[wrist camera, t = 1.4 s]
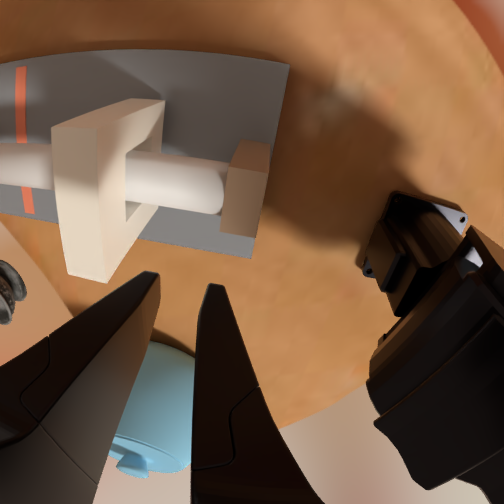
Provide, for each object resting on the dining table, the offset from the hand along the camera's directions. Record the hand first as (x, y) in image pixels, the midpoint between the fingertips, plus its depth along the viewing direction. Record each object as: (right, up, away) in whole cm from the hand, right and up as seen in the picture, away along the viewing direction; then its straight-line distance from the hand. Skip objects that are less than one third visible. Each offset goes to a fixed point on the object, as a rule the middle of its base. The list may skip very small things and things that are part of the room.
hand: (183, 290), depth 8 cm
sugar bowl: (-8, -12, +23) cm, 27 cm away
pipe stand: (-8, +8, +10) cm, 15 cm away
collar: (-4, +6, +8) cm, 11 cm away
